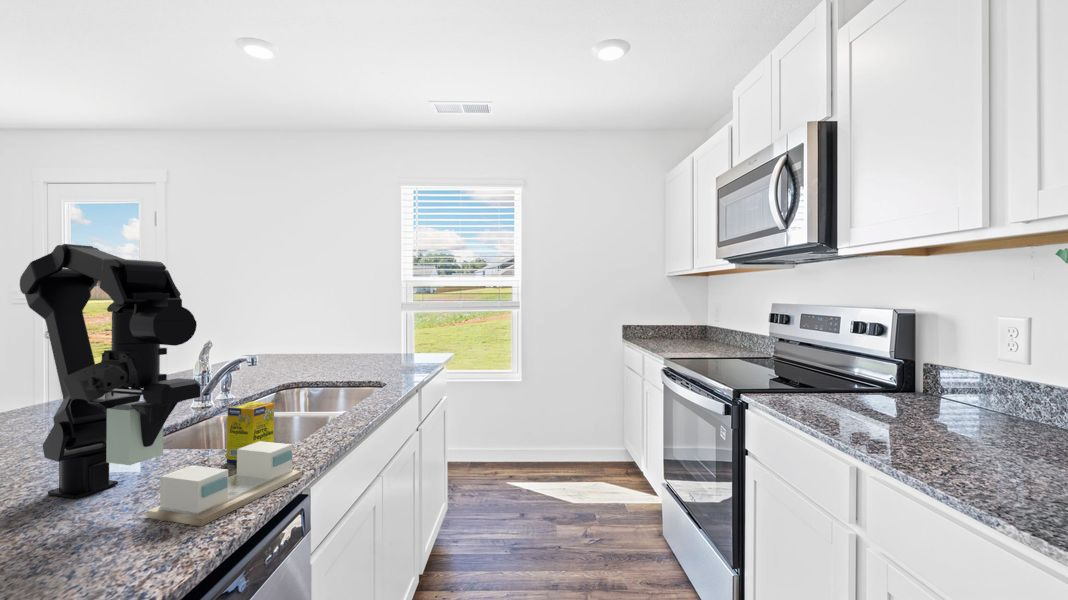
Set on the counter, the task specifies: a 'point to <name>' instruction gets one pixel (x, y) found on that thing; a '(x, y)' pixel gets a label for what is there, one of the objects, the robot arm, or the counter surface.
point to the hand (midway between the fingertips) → (135, 445)
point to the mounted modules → (222, 477)
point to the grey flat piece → (232, 491)
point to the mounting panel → (227, 506)
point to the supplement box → (248, 426)
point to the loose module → (128, 437)
